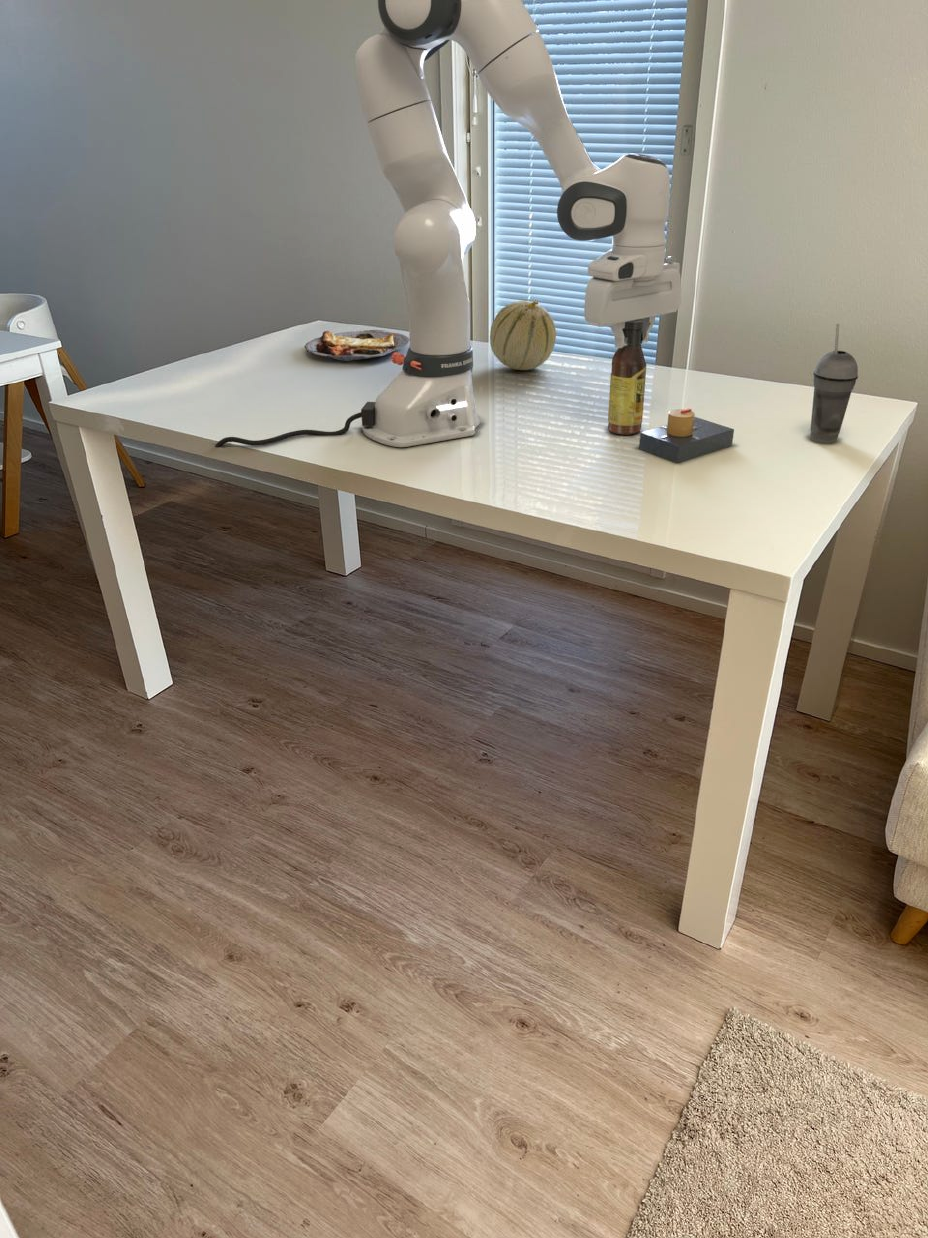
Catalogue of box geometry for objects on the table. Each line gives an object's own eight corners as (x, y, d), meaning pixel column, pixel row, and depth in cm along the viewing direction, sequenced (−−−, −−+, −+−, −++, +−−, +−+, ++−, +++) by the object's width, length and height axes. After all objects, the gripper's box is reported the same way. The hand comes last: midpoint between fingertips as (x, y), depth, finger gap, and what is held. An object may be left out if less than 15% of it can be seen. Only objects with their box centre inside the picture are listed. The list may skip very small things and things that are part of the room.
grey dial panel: (677, 463, 155) (679, 445, 154) (638, 448, 161) (640, 431, 160) (732, 445, 162) (734, 428, 161) (693, 432, 169) (695, 415, 167)
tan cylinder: (680, 438, 157) (682, 417, 155) (661, 432, 160) (663, 410, 158) (697, 433, 159) (700, 411, 157) (678, 426, 162) (680, 405, 160)
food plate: (292, 362, 215) (291, 347, 213) (322, 338, 234) (321, 324, 233) (397, 366, 211) (396, 350, 209) (418, 341, 231) (417, 327, 229)
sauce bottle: (640, 437, 167) (649, 324, 156) (606, 435, 168) (612, 324, 158) (642, 425, 172) (650, 316, 162) (608, 423, 173) (614, 315, 163)
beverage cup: (839, 449, 160) (863, 331, 150) (797, 442, 163) (817, 326, 153) (849, 436, 165) (872, 322, 155) (807, 430, 168) (828, 317, 158)
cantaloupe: (493, 359, 214) (493, 292, 207) (556, 360, 213) (558, 293, 205) (485, 377, 202) (485, 306, 194) (553, 378, 200) (555, 307, 192)
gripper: (666, 252, 163) (659, 332, 170) (580, 265, 152) (576, 350, 159) (693, 257, 158) (685, 338, 165) (607, 271, 148) (601, 357, 155)
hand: (631, 344), depth 162 cm, fingers closed on sauce bottle, 4 cm apart
